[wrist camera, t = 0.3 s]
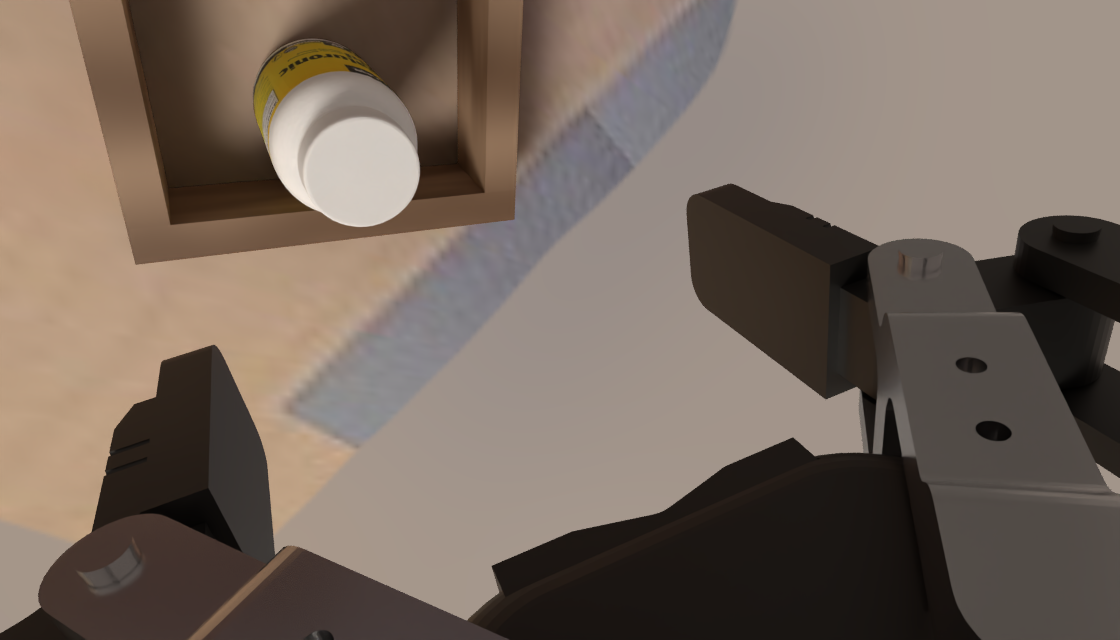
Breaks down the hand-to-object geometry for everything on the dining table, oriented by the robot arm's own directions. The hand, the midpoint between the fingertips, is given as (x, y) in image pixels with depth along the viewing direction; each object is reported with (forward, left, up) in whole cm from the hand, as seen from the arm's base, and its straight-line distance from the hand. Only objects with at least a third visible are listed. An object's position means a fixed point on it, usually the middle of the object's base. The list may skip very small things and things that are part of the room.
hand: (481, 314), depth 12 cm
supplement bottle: (+3, +1, -25) cm, 25 cm away
